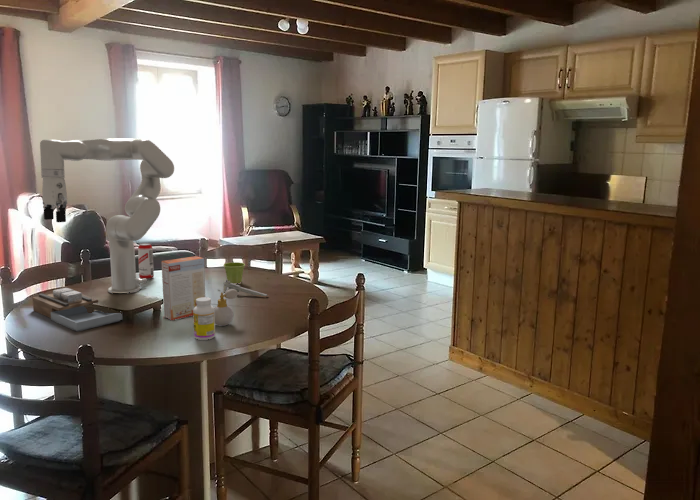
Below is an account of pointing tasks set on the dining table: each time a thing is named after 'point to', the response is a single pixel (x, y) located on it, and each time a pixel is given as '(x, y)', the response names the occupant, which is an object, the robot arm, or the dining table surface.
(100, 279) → the dining table surface
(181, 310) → the cracker box
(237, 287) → the caliper
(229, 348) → the dining table surface
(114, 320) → the tray
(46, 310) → the slot board
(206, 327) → the supplement bottle
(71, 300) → the chip
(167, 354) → the dining table surface
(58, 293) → the chip
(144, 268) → the beer can
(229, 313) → the perfume bottle
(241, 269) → the plant pot
